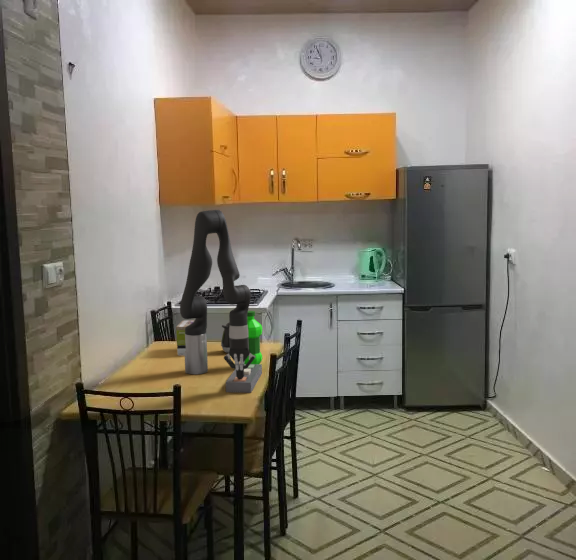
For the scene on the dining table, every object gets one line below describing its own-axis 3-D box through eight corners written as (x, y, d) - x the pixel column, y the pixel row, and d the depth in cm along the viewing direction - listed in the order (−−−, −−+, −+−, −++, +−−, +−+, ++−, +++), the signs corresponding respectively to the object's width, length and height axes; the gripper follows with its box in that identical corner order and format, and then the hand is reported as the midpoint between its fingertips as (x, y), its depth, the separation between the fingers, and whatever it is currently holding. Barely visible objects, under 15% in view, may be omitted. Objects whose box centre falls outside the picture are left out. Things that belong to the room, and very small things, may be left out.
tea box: (183, 348, 308) (182, 319, 306) (203, 348, 308) (201, 319, 306) (176, 355, 293) (175, 326, 291) (197, 355, 293) (196, 325, 291)
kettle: (216, 352, 298) (215, 322, 296) (233, 348, 305) (232, 319, 303) (229, 356, 291) (228, 325, 289) (246, 352, 298) (245, 321, 296)
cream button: (238, 379, 247) (238, 371, 246) (240, 375, 251) (240, 368, 251) (249, 379, 246) (248, 371, 246) (250, 376, 250) (250, 368, 250)
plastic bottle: (238, 369, 268) (236, 313, 265) (243, 362, 278) (241, 309, 275) (260, 369, 267) (259, 314, 264) (264, 363, 277) (263, 309, 274)
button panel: (226, 392, 237) (225, 382, 236) (239, 373, 262) (239, 364, 262) (251, 392, 235) (250, 382, 235) (262, 373, 261) (261, 364, 260)
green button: (242, 374, 256) (242, 367, 255) (244, 371, 260) (244, 364, 259) (253, 374, 255) (252, 367, 255) (254, 371, 259) (254, 364, 259)
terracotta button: (233, 387, 238) (233, 380, 237) (236, 384, 242) (235, 376, 242) (244, 388, 237) (244, 380, 237) (246, 384, 242) (246, 377, 241)
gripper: (257, 333, 240) (258, 376, 242) (224, 333, 241) (226, 375, 244) (253, 338, 232) (255, 381, 235) (220, 338, 234) (221, 381, 236)
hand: (240, 378), depth 239 cm, fingers closed
